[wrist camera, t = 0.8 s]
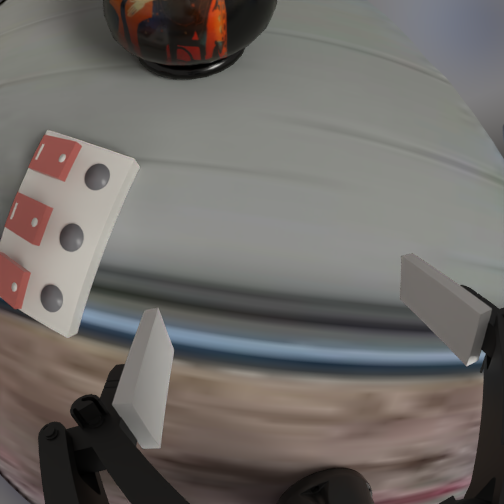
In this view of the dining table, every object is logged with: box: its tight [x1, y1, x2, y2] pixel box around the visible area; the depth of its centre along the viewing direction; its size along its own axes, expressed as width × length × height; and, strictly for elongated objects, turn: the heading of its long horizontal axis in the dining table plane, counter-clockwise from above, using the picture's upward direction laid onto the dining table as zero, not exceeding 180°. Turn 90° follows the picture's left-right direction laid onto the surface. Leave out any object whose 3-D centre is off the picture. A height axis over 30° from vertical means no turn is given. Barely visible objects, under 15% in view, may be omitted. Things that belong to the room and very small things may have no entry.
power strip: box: [0, 130, 140, 338], centre depth 32 cm, size 22×14×3 cm, turn 159°
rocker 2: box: [0, 252, 31, 309], centre depth 28 cm, size 4×6×3 cm
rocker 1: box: [4, 192, 53, 246], centre depth 29 cm, size 4×6×3 cm
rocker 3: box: [28, 135, 82, 182], centre depth 29 cm, size 4×6×3 cm
